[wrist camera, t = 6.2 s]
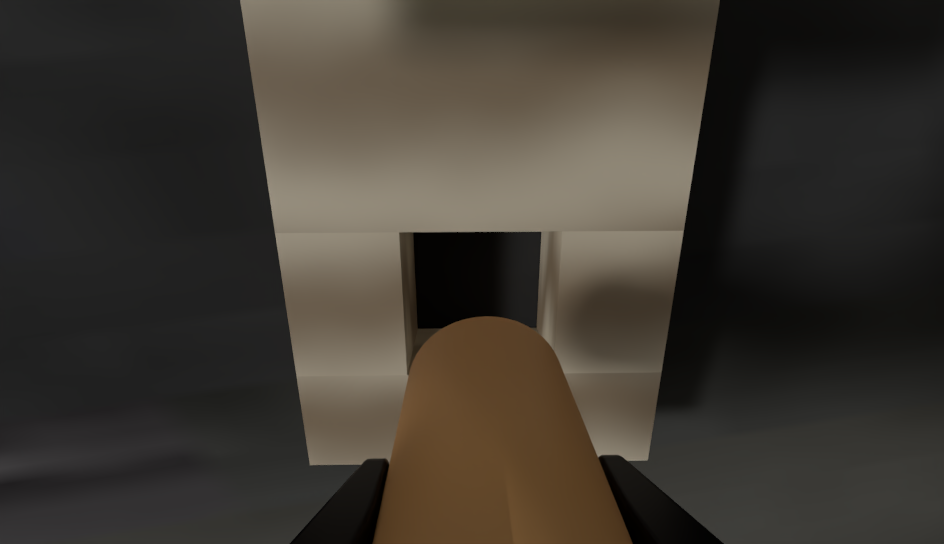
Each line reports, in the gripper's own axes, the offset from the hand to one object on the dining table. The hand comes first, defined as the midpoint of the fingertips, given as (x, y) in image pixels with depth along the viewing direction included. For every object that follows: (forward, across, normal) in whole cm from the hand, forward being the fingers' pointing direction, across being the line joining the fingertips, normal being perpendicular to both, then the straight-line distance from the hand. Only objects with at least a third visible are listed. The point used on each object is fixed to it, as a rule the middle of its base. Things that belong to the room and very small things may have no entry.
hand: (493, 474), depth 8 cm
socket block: (+12, 0, -3) cm, 12 cm away
